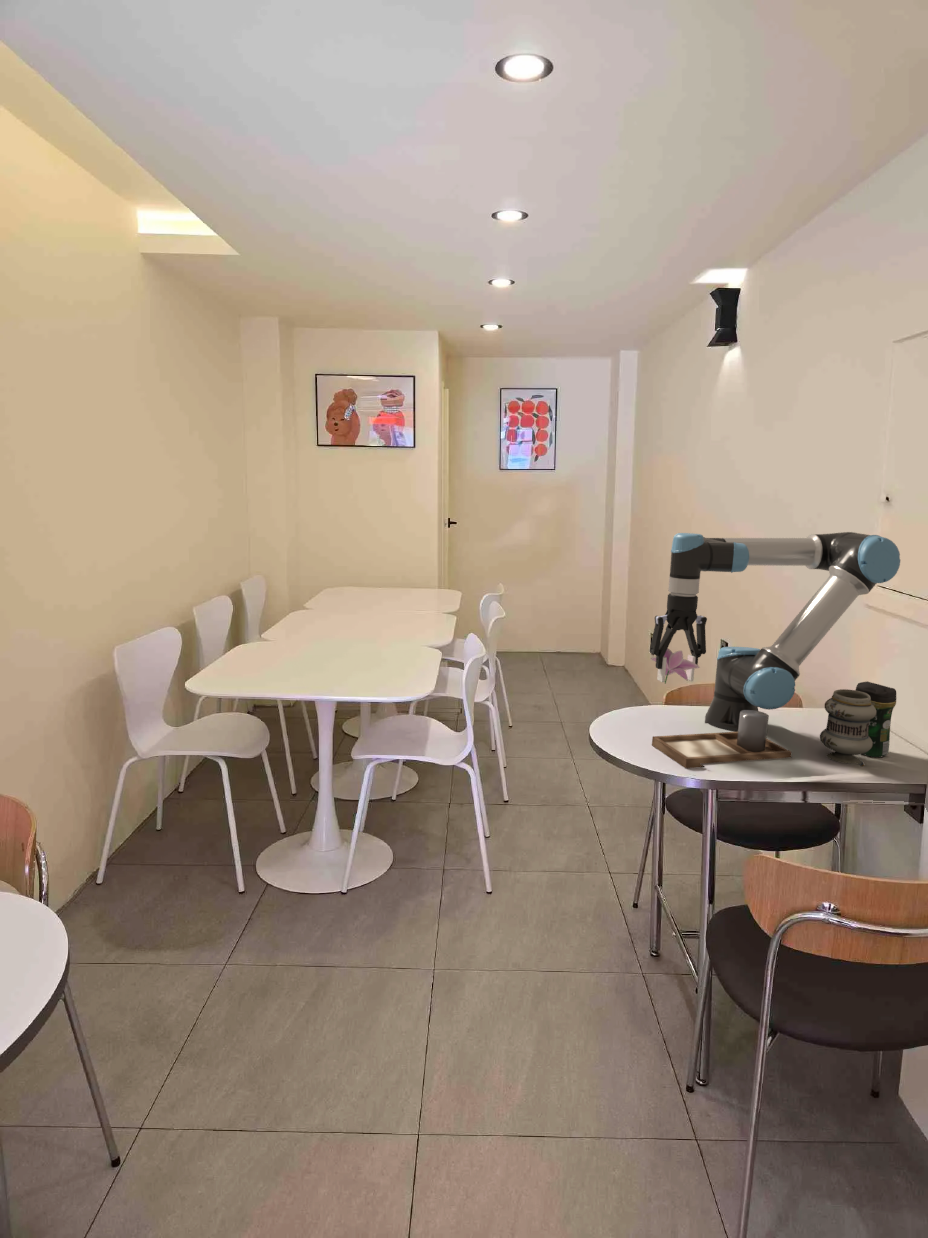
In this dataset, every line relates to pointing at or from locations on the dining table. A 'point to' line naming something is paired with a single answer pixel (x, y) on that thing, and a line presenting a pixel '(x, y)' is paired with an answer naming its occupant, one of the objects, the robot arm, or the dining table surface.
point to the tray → (712, 749)
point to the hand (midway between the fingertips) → (675, 680)
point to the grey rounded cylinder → (752, 730)
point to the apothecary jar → (848, 725)
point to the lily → (677, 664)
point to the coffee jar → (879, 716)
